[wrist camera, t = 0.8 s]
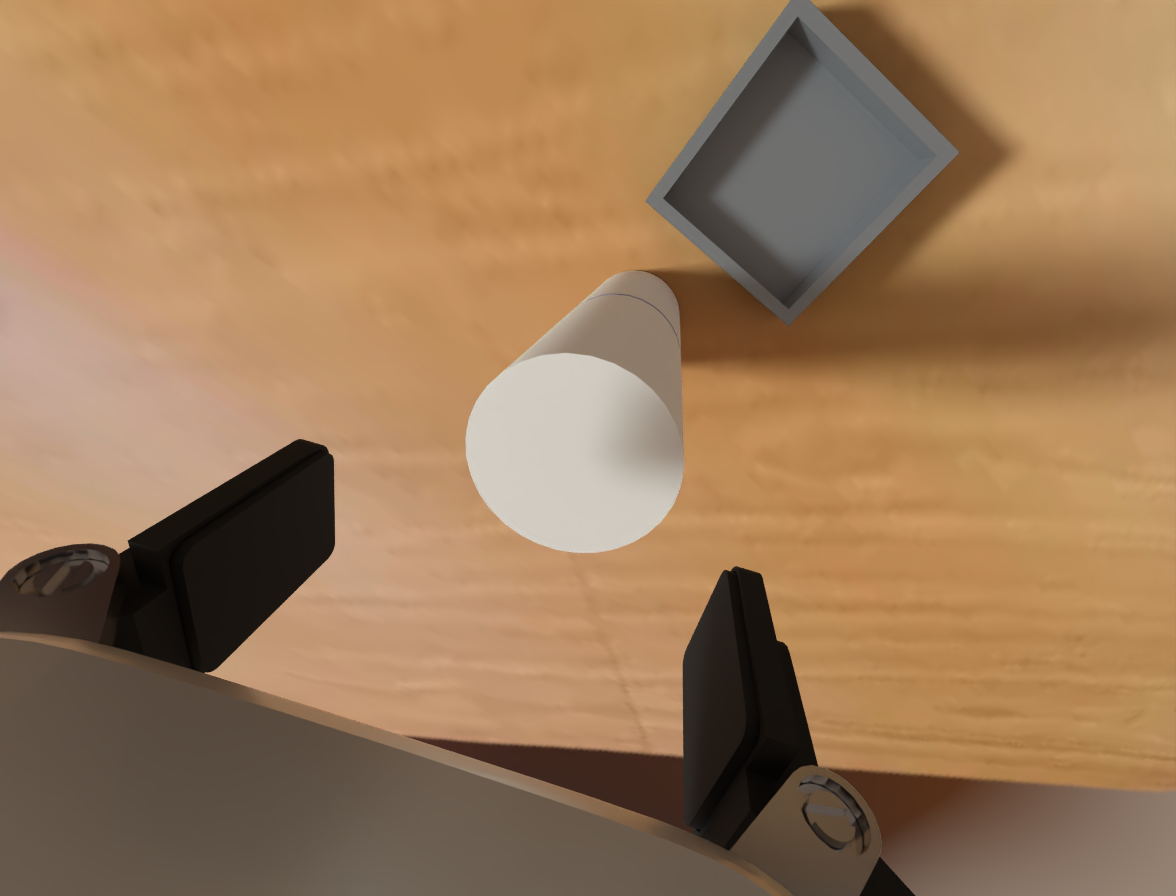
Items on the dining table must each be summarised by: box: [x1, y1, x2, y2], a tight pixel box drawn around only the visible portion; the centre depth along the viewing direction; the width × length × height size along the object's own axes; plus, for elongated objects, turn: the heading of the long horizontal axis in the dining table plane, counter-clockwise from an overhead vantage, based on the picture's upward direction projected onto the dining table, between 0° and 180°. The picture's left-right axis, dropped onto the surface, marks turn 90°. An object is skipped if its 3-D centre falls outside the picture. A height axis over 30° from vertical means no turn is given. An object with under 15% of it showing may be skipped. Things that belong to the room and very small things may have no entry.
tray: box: [646, 0, 959, 326], centre depth 31 cm, size 13×13×4 cm
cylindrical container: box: [466, 270, 684, 553], centre depth 27 cm, size 7×7×25 cm
